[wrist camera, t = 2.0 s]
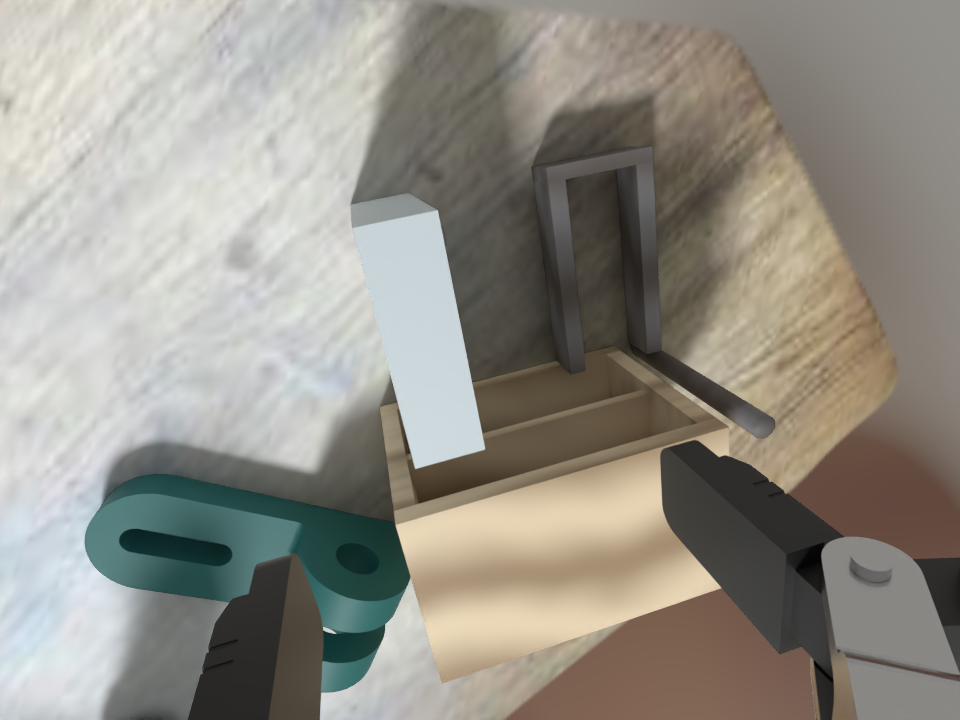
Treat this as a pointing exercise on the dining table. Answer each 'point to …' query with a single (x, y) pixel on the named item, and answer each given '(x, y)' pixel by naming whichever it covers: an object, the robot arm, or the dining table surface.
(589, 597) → the wooden caddy
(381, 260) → the door
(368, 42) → the dining table surface
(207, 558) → the bracket
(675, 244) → the dining table surface
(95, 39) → the dining table surface
